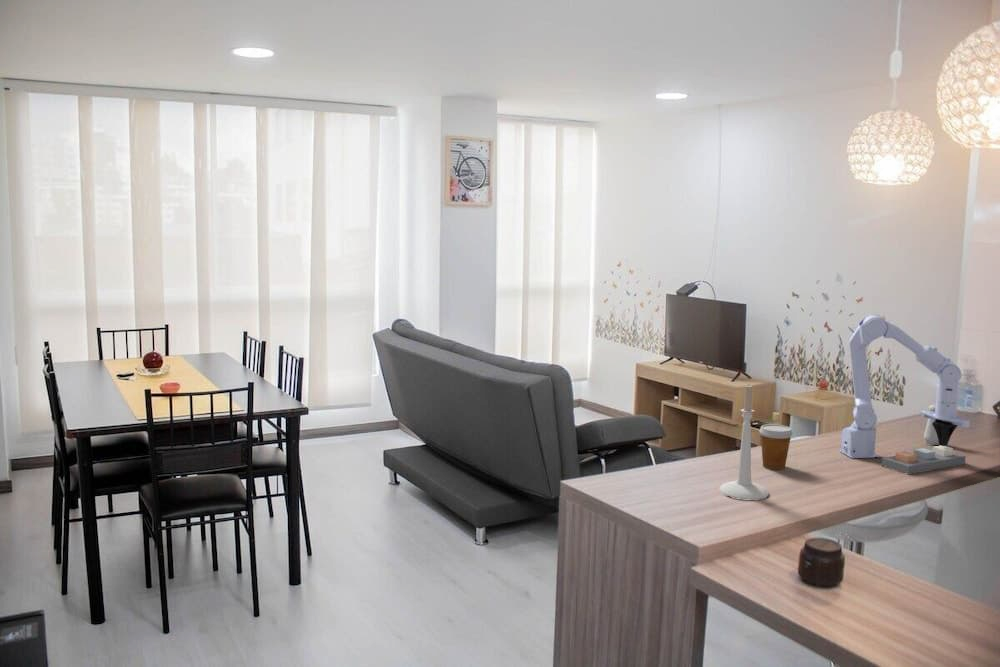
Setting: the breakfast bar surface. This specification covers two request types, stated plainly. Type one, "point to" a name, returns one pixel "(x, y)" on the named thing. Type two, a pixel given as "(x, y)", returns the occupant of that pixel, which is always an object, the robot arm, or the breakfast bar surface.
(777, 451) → the disposable coffee cup
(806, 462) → the breakfast bar surface
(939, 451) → the cream key
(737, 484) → the candlestick
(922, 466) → the key panel
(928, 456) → the slate key
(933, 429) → the salt shaker
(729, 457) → the breakfast bar surface
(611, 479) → the breakfast bar surface
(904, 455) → the terracotta key
